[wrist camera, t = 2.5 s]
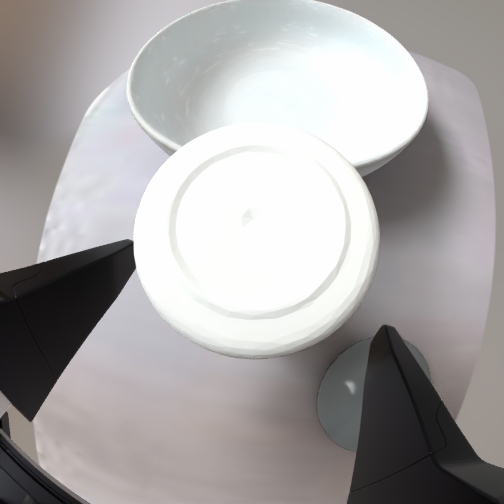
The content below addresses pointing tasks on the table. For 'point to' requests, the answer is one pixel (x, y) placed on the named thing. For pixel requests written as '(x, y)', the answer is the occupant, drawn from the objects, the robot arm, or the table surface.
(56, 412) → the table surface
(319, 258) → the sprinkles bottle
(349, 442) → the coaster
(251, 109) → the serving bowl
